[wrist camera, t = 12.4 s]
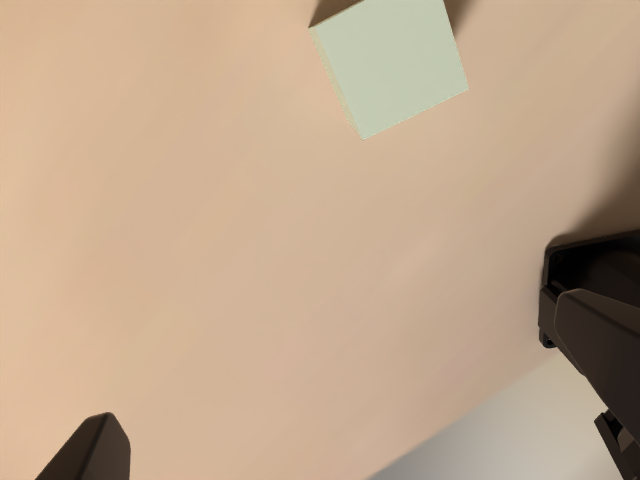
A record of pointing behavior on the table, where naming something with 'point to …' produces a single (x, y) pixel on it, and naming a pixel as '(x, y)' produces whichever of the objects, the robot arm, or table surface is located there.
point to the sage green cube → (389, 60)
